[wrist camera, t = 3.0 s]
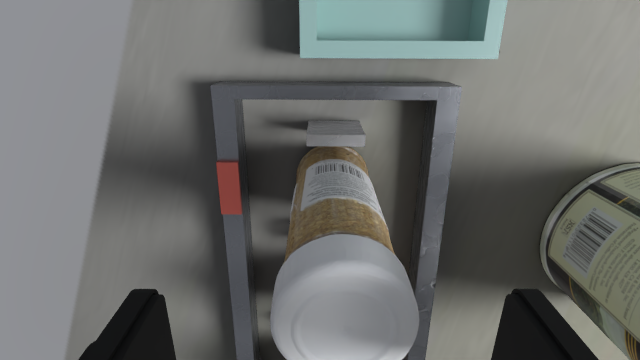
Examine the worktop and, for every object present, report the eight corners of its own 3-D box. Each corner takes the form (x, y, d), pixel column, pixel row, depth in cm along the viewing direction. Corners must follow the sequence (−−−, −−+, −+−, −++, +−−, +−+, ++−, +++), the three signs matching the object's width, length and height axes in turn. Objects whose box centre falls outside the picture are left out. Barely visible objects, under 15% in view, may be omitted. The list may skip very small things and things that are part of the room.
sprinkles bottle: (285, 192, 24) (245, 361, 11) (314, 128, 23) (304, 242, 10) (350, 219, 25) (378, 406, 12) (382, 158, 23) (452, 300, 11)
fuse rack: (449, 82, 22) (472, 90, 18) (411, 395, 30) (422, 438, 27) (220, 81, 22) (201, 89, 18) (247, 393, 30) (238, 437, 27)
